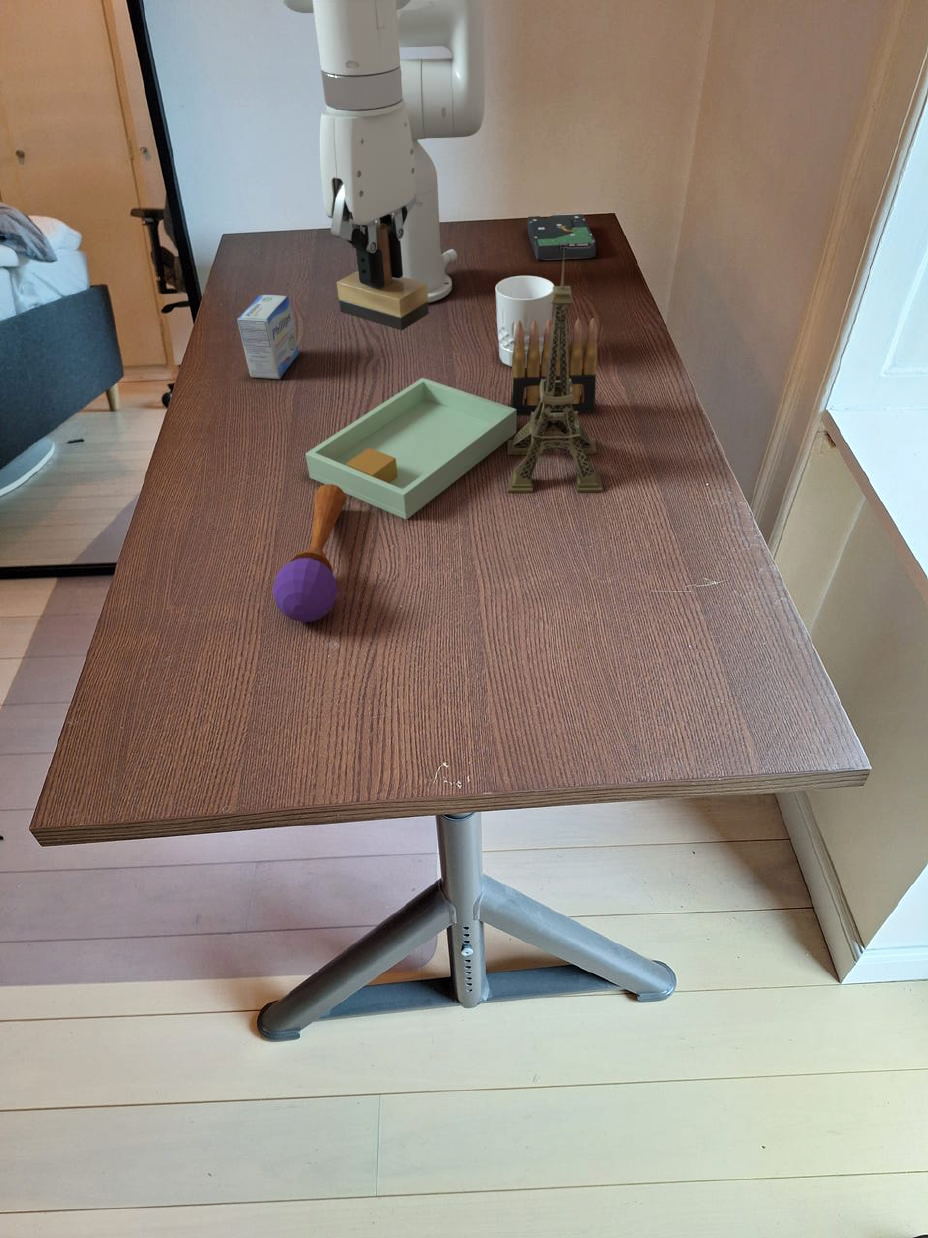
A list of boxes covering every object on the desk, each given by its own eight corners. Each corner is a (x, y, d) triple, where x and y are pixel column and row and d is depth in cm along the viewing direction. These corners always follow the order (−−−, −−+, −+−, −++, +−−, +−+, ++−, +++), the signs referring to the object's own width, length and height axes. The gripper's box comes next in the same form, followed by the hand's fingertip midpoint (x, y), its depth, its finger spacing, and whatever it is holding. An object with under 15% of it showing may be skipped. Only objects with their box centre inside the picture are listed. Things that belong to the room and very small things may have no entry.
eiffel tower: (507, 442, 104) (509, 228, 86) (594, 441, 103) (613, 226, 86) (508, 492, 96) (510, 269, 79) (602, 492, 95) (624, 267, 78)
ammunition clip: (592, 404, 110) (600, 313, 101) (594, 411, 108) (602, 320, 100) (509, 407, 110) (510, 317, 101) (511, 415, 108) (512, 324, 100)
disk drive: (525, 232, 156) (536, 261, 145) (526, 216, 154) (537, 244, 143) (581, 229, 156) (596, 258, 145) (582, 212, 154) (598, 241, 143)
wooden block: (371, 465, 99) (368, 447, 98) (397, 476, 98) (395, 457, 96) (348, 482, 97) (345, 463, 95) (375, 493, 95) (372, 474, 93)
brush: (368, 296, 100) (358, 211, 94) (429, 313, 97) (424, 226, 90) (340, 312, 97) (328, 226, 91) (402, 330, 94) (394, 242, 87)
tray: (423, 400, 112) (422, 377, 109) (516, 432, 105) (516, 408, 103) (309, 477, 99) (305, 453, 97) (406, 519, 93) (404, 494, 91)
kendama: (360, 477, 92) (334, 588, 76) (355, 523, 96) (330, 638, 80) (304, 469, 91) (267, 579, 76) (302, 515, 95) (266, 630, 79)
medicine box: (279, 380, 117) (267, 319, 111) (249, 378, 118) (236, 317, 112) (299, 354, 122) (289, 294, 116) (270, 352, 123) (259, 293, 117)
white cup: (559, 350, 121) (563, 280, 114) (539, 375, 116) (542, 302, 109) (508, 341, 123) (509, 271, 117) (486, 364, 118) (485, 293, 111)
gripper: (386, 67, 88) (400, 249, 101) (275, 103, 79) (306, 298, 91) (444, 76, 85) (451, 262, 97) (335, 114, 75) (359, 315, 88)
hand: (381, 278), depth 94 cm, fingers closed on brush, 2 cm apart
